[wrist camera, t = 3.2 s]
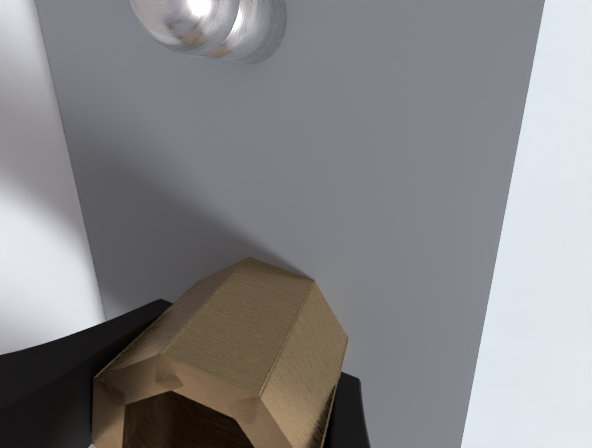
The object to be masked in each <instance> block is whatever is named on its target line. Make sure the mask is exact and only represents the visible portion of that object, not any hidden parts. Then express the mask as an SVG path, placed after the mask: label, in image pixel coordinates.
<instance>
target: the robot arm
mask: <svg viewBox="0 0 592 448" xmlns="http://www.w3.org/2000/svg"><path fill="white" fill-rule="evenodd" d="M172 304H174V303H171V302H169V301H166V300H164V299H161V298H160V299H158V300H155V301H153V302H151V303H148V304H146V305H144V306H141V307H139V308H137V309H134V310H132V311H130V312H127V313H125V314H123V315H120V316H118V317H115V318H113V319H111V320H108V321H106V322H103V323H101V324H98V325H96V326H93V327H90V328H88V329H85V330H82V331H80V332H77V333H74V334H71V335H69V336H66V337H63V338H60V339H57V340H54V341H51V342H48V343H44V344H41V345H37V346H34V347H30V348H27V349H23V350H20V351H16V352H11V353H7V354H3V355H0V448H88V447H89V446H90V445H91V443H92V442H91V441H92V416H93V378H94V377H95V376H96V375H97V374H98V373H99V372H100V371H101V370H102V369H103V368H105V367H106V366H107V365H108V364H109V363H110V362H111V361H112V360H113V359H114V358H115V357H116V356H117V355H119V354H120V353H121V352H122V351H123V350H124V349H125V348H126V347H127V346H128V345H129V344H130V343H132V342H133V341H134V340H135V339H136V338H137V337H138V336H139V335H140V334H141V333H142V332H143V331H144V330H146V329H147V328H148V327H149V326H150V325H151V324H152V323H153V322H154V321H155V320H156V319H157V318H158V317H160V316H161V315H162V314H163V313H164V312H165V311H166V310H167V309H168V308H169V307H170V306H171V305H172ZM323 448H371V446H370V442H369V437H368V432H367V427H366V422H365V415H364V409H363V401H362V391H361V381H360V380H359V378H357V377H354V376H352V375H349V374H347V373H344V372H342V371H341V374H340V378H339V380H338V384H337V388H336V393H335V400H334V404H333V409H332V413H331V417H330V421H329V426H328V430H327V434H326V439H325V443H324V447H323Z"/></svg>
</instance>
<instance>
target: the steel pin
mask: <svg viewBox="0 0 592 448" xmlns="http://www.w3.org/2000/svg"><path fill="white" fill-rule="evenodd" d="M129 2H130V5H131V8H132V10H133V13H134V15H135V17H136V19H137V20H138V22H139V23H140V25H141V26H142V28H143V29H144V30H145V32H146V33H147V34H148V35H149V36H150V37H151V38H152V39H153V40H154V41H156V42H157V43H158V44H159V45H161V46H162V47H164V48H166V49H168V50H170V51H172V52H174V53H177V54H180V55H185V56H191V57H198V58H206V59H213V60H220V61H227V62H235V63H242V64H255V63H259V62H262V61H264V60H266V59H267V58H269V57H270V56H271V55H272V54H273V53H274V52H275V51H276V50H277V49H278V47H279V46H280V44H281V42H282V40H283V37H284V35H285V31H286V25H287V10H286V5H285V2H284V0H129Z"/></svg>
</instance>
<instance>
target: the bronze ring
mask: <svg viewBox="0 0 592 448" xmlns="http://www.w3.org/2000/svg"><path fill="white" fill-rule="evenodd" d="M348 340H349V338H348V337H347V335H346V333H345V332H344V330H343V328H342V326H341V325H340V323H339V321H338V320H337V318H336V316H335V315H334V313H333V311H332V309H331V308H330V306H329V304H328V303H327V301H326V299H325V297H324V296H323V294H322V292H321V291H320V289H319V287H318V285H317V284H316V281H315V280H311V279H309V278H306V277H303V276H301V275H298V274H295V273H292V272H290V271H287V270H284V269H282V268H279V267H276V266H273V265H271V264H268V263H265V262H262V261H260V260H257V259H254V258H252V257H251V256H250V257H249V256H248V257H247V258H246V259H244V260H242V261H239V262H237V263H235V264H233V265H231V266H229V267H227V268H225V269H222V270H220V271H218V272H216V273H214V274H212V275H210V276H208V277H205V278H203V279H201V280H200V279H199V280H198V281H197V282H196V283H195V284H194V285H193V286H192V287H191V288H190V289H189V290H188V291H187V292H185V293H184V294H183V295H182V296H181V297H180V298H179V299H178V300H177V301H176V302H175V303H174V304H172V305H171V306H170V307H169V308H168V309H167V310H166V311H165V312H164V313H163V314H162V315H161V316H160V317H158V318H157V319H156V320H155V321H154V322H153V323H152V324H151V325H150V326H149V327H148V328H147V329H146V330H144V331H143V332H142V333H141V334H140V335H139V336H138V337H137V338H136V339H135V340H134V341H133V342H132V343H130V344H129V345H128V346H127V347H126V348H125V349H124V350H123V351H122V352H121V353H120V354H119V355H117V356H116V357H115V358H114V359H113V360H112V361H111V362H110V363H109V364H108V365H107V366H106V367H105V368H103V369H102V370H101V371H100V372H99V373H98V374H97V375H96V376H95V377H94V378H93V416H92V441H91V442H92V444H93V445H94V446H95V447H96V448H323V447H324V443H325V439H326V434H327V430H328V426H329V421H330V417H331V413H332V409H333V404H334V400H335V393H336V388H337V384H338V380H339V378H340V374H341V370H342V366H343V361H344V357H345V353H346V349H347V344H348Z"/></svg>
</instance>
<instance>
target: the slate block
mask: <svg viewBox="0 0 592 448" xmlns="http://www.w3.org/2000/svg"><path fill="white" fill-rule="evenodd" d="M284 2H285V5H286V10H287V25H286V31H285V35H284V37H283V40H282V42H281V44H280V46H279V47H278V49H277V50H276V51H275V52H274V53H273V54H272V55H271V56H270V57H269V58H267V59H266V60H264V61H262V62H259V63H255V64H242V63H235V62H227V61H220V60H213V59H206V58H198V57H191V56H185V55H180V54H177V53H174V52H172V51H170V50H168V49H166V48H164V47H162V46H161V45H159V44H158V43H157V42H156V41H154V40H153V39H152V38H151V37H150V36H149V35H148V34H147V33H146V32H145V30H144V29H143V28H142V26H141V25H140V23H139V22H138V20H137V19H136V17H135V15H134V13H133V10H132V8H131V5H130V2H129V0H35V3H36V7H37V12H38V16H39V21H40V25H41V30H42V34H43V39H44V43H45V48H46V52H47V57H48V61H49V66H50V70H51V74H52V79H53V83H54V88H55V92H56V97H57V101H58V106H59V110H60V115H61V119H62V124H63V128H64V133H65V137H66V142H67V146H68V151H69V155H70V160H71V164H72V169H73V173H74V178H75V182H76V187H77V191H78V196H79V200H80V205H81V209H82V214H83V218H84V223H85V227H86V232H87V236H88V241H89V245H90V250H91V254H92V259H93V263H94V268H95V272H96V277H97V281H98V286H99V290H100V295H101V299H102V304H103V308H104V313H105V317H106V321H108V320H111V319H113V318H115V317H118V316H120V315H123V314H125V313H127V312H130V311H132V310H134V309H137V308H139V307H141V306H144V305H146V304H148V303H151V302H153V301H155V300H158V299H160V298H161V299H164V300H166V301H169V302H171V303H175V302H176V301H177V300H178V299H179V298H180V297H181V296H182V295H183V294H184V293H185V292H187V291H188V290H189V289H190V288H191V287H192V286H193V285H194V284H195V283H196V282H197V281H198V280H199V279H200V280H201V279H203V278H205V277H208V276H210V275H212V274H214V273H216V272H218V271H220V270H222V269H225V268H227V267H229V266H231V265H233V264H235V263H237V262H239V261H242V260H244V259H246V258H247V257H248V256H249V257H250V256H251V257H252V258H254V259H257V260H260V261H262V262H265V263H268V264H271V265H273V266H276V267H279V268H282V269H284V270H287V271H290V272H292V273H295V274H298V275H301V276H303V277H306V278H309V279H311V280H315V281H316V284H317V285H318V287H319V289H320V291H321V292H322V294H323V296H324V297H325V299H326V301H327V303H328V304H329V306H330V308H331V309H332V311H333V313H334V315H335V316H336V318H337V320H338V321H339V323H340V325H341V326H342V328H343V330H344V332H345V333H346V335H347V337H348V338H349V340H348V344H347V349H346V353H345V357H344V361H343V366H342V370H341V371H342V372H344V373H347V374H349V375H352V376H354V377H357V378H359V380H360V381H361V391H362V401H363V409H364V415H365V422H366V427H367V432H368V437H369V442H370V446H371V448H461V442H462V437H463V432H464V426H465V421H466V416H467V411H468V405H469V400H470V395H471V389H472V384H473V379H474V373H475V368H476V363H477V358H478V352H479V347H480V342H481V336H482V331H483V326H484V320H485V315H486V310H487V304H488V299H489V294H490V289H491V283H492V278H493V273H494V267H495V262H496V257H497V251H498V246H499V241H500V235H501V230H502V225H503V220H504V214H505V209H506V204H507V198H508V193H509V188H510V182H511V177H512V172H513V167H514V161H515V156H516V151H517V145H518V140H519V135H520V129H521V124H522V119H523V113H524V108H525V103H526V98H527V92H528V87H529V82H530V76H531V71H532V66H533V60H534V55H535V50H536V44H537V39H538V34H539V29H540V23H541V18H542V13H543V7H544V2H545V0H284Z"/></svg>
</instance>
